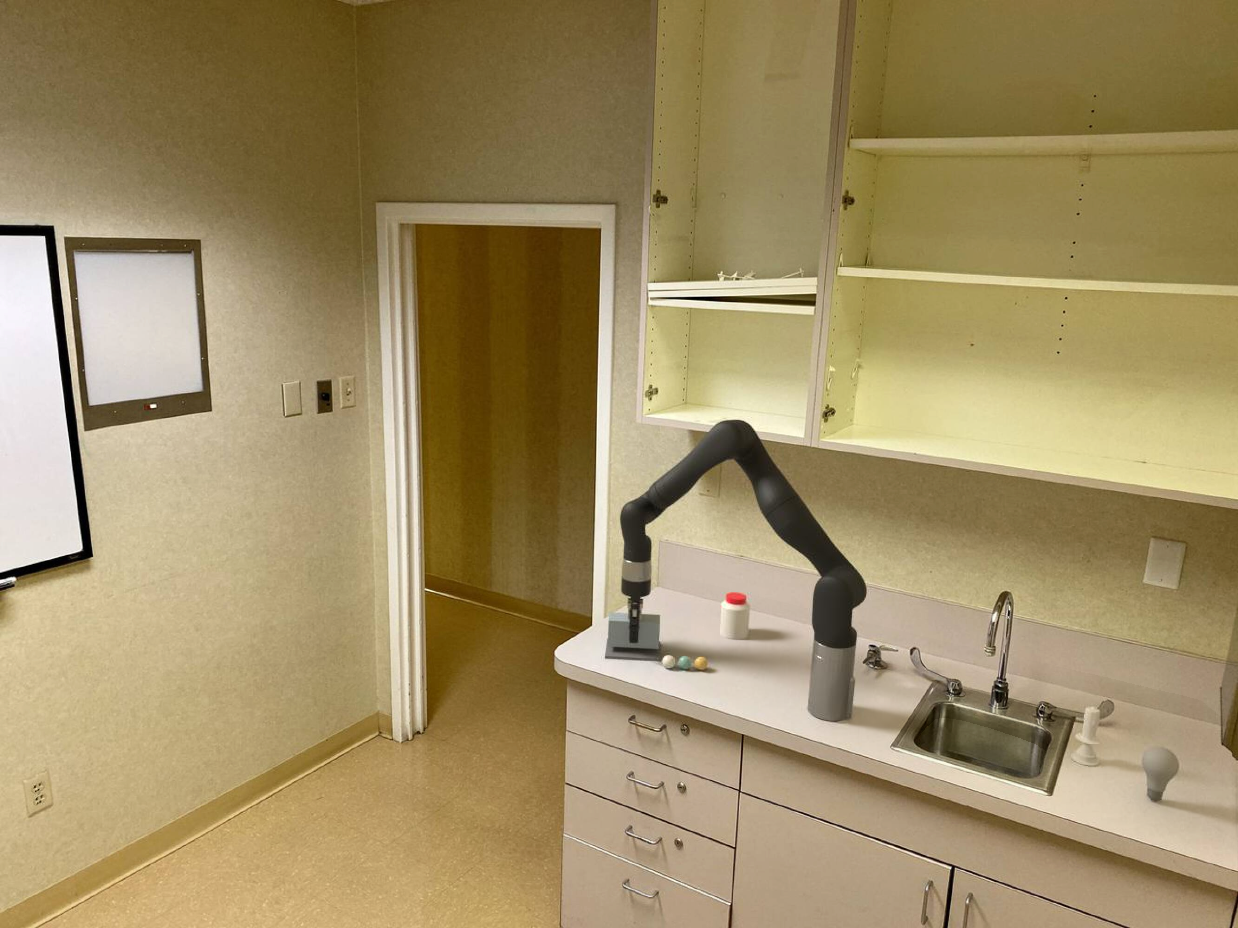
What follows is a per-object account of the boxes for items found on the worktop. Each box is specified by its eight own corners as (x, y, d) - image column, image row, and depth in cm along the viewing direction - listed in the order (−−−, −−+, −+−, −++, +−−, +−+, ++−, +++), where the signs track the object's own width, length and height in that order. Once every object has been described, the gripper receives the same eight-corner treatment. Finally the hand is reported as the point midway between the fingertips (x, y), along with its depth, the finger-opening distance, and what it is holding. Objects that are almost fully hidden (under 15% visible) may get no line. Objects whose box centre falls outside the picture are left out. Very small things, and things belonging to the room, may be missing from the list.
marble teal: (690, 666, 225) (691, 654, 224) (691, 671, 222) (691, 659, 221) (677, 665, 225) (678, 653, 224) (678, 670, 222) (678, 658, 221)
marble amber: (706, 666, 225) (707, 654, 224) (707, 672, 221) (708, 660, 221) (694, 666, 225) (694, 654, 224) (694, 671, 222) (695, 659, 221)
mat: (660, 643, 238) (660, 641, 237) (660, 661, 227) (660, 658, 227) (607, 640, 238) (607, 638, 238) (604, 658, 227) (604, 655, 227)
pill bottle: (747, 629, 249) (750, 591, 247) (748, 640, 241) (751, 601, 239) (719, 627, 250) (721, 589, 247) (719, 638, 242) (722, 599, 240)
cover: (658, 640, 234) (660, 614, 233) (658, 648, 229) (660, 623, 227) (608, 637, 235) (609, 612, 233) (607, 646, 229) (608, 620, 228)
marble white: (674, 665, 225) (675, 653, 224) (674, 670, 222) (675, 658, 221) (661, 664, 225) (662, 652, 224) (661, 670, 222) (662, 657, 221)
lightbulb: (1162, 813, 169) (1172, 760, 167) (1129, 797, 174) (1138, 745, 172) (1177, 803, 173) (1187, 751, 171) (1144, 787, 178) (1153, 737, 175)
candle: (1072, 749, 191) (1081, 697, 189) (1100, 758, 188) (1109, 705, 186) (1068, 760, 187) (1076, 707, 184) (1097, 769, 184) (1106, 715, 181)
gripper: (651, 585, 221) (648, 650, 224) (651, 566, 235) (648, 627, 238) (620, 584, 221) (618, 648, 225) (622, 565, 235) (620, 626, 239)
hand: (633, 637), depth 232 cm, fingers closed on cover, 5 cm apart
